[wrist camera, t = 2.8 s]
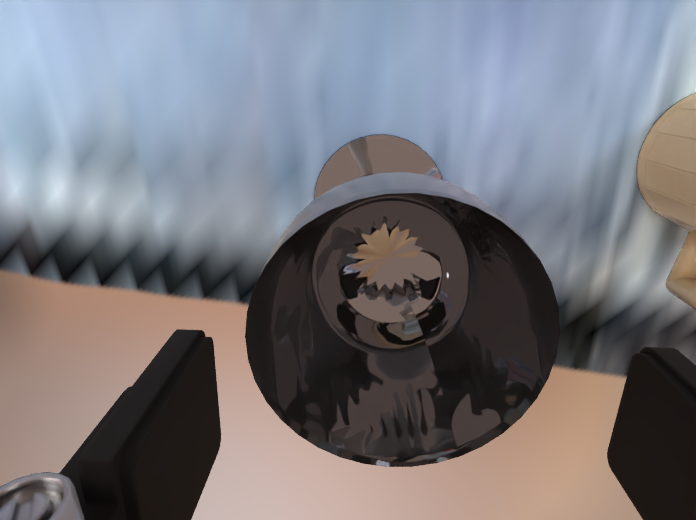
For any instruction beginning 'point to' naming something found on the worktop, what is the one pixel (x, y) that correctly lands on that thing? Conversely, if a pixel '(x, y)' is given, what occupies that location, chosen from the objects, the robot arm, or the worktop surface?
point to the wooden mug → (674, 186)
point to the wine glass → (399, 313)
